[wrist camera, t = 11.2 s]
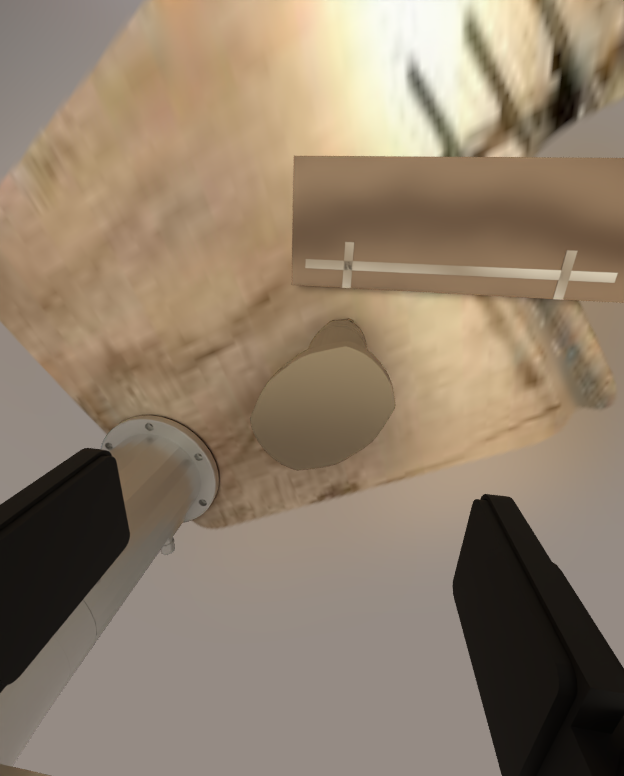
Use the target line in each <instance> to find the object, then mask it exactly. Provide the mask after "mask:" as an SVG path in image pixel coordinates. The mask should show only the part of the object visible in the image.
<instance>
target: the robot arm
mask: <svg viewBox="0 0 624 776" xmlns="http://www.w3.org/2000/svg"><path fill="white" fill-rule="evenodd" d="M218 485H219V476H218V470H217V466H216V463H215V460H214V458H213V456H212V454H211V452H210V451H209V450H208V448H207V447H206V445H205V444H204V443H203V442H202V441H201V440H200V439H199V438H198V437H197V436H196V435H195V434H194V433H193V432H191V431H190V430H189V429H187V428H186V427H185V426H183V425H181V424H179V423H177V422H175V421H172V420H169V419H166V418H163V417H158V416H152V415H146V416H137V417H132V418H129V419H127V420H125V421H123V422H121V423H120V424H118V425H117V426H116V427H114V428H113V429H112V430H111V431H110V432H109V433H108V434H107V435H106V437H105V439H104V441H103V443H102V446H101V450H100V449H91V448H84V449H82V450H80V451H79V452H78V453H76V454H75V455H73V456H72V457H70V458H69V459H67V460H66V461H64V462H63V463H61V464H60V465H58V466H57V467H56V468H54V469H53V470H51V471H50V472H48V473H46V474H45V475H44V476H42V477H41V478H39V479H38V480H36V481H35V482H33V483H32V484H30V485H29V486H27V487H26V488H24V489H23V490H21V491H20V492H19V493H17V494H16V495H14V496H13V497H11V498H10V499H8V500H7V501H5V502H4V503H2V504H1V505H0V776H50V775H46V774H42V773H38V772H33V771H29V770H25V769H20V768H16V767H13V765H14V764H15V762H16V760H17V759H18V757H19V755H20V754H21V752H22V751H23V749H24V748H25V746H26V745H27V743H28V742H29V740H30V739H31V737H32V735H33V734H34V732H35V731H36V729H37V728H38V726H39V725H40V723H41V721H42V720H43V718H44V717H45V716H46V714H47V713H48V711H49V710H50V708H51V707H52V705H53V704H54V702H55V701H56V699H57V698H58V696H59V695H60V693H61V692H62V690H63V689H64V687H65V686H66V685H67V683H68V681H69V680H70V679H71V677H72V676H73V674H74V673H75V671H76V670H77V668H78V667H79V666H80V664H81V663H82V662H83V660H84V659H85V657H86V656H87V654H88V653H89V651H90V650H91V649H92V647H93V646H94V644H95V642H96V641H97V640H98V638H99V637H100V635H101V634H102V632H103V631H104V630H105V628H106V627H107V625H108V624H109V623H110V621H111V620H112V618H113V617H114V615H115V614H116V612H117V611H118V610H119V608H120V607H121V606H122V604H123V602H124V601H125V600H126V598H127V597H128V595H129V594H130V593H131V591H132V590H133V588H134V587H135V586H136V584H137V583H138V581H139V580H140V578H141V577H142V576H143V574H144V573H145V571H146V570H147V569H148V567H149V566H150V564H151V563H152V561H153V560H154V559H155V557H156V556H157V554H158V553H159V551H160V550H161V553H162V554H164V555H168V554H170V553H172V552H173V551H174V549H175V545H174V539H173V536H174V534H175V533H176V531H177V530H178V528H179V527H180V525H181V524H182V523H183V522H188V521H191V520H194V519H196V518H197V517H199V516H201V515H202V514H203V513H204V512H205V511H206V510H207V509H208V508H209V507H210V505H211V503H212V502H213V500H214V499H215V496H216V494H217V491H218ZM453 595H454V600H455V603H456V607H457V611H458V614H459V618H460V622H461V626H462V629H463V633H464V637H465V640H466V644H467V648H468V651H469V655H470V659H471V662H472V666H473V670H474V674H475V678H476V681H477V685H478V689H479V692H480V696H481V700H482V704H483V707H484V711H485V715H486V718H487V722H488V726H489V730H490V733H491V737H492V741H493V745H494V748H495V752H496V756H497V759H498V763H499V767H500V770H501V774H502V776H624V668H623V667H622V665H621V663H620V662H619V661H618V659H617V657H616V656H615V654H614V652H613V651H612V649H611V648H610V646H609V645H608V643H607V642H606V640H605V638H604V637H603V635H602V634H601V632H600V631H599V629H598V627H597V626H596V624H595V623H594V621H593V619H592V618H591V616H590V615H589V613H588V612H587V610H586V609H585V607H584V605H583V604H582V602H581V601H580V599H579V598H578V596H577V595H576V593H575V591H574V590H573V588H572V587H571V585H570V583H569V582H568V581H567V579H566V577H565V576H564V574H563V572H562V571H561V570H560V569H559V568H558V566H557V565H556V564H554V563H553V562H552V561H551V560H550V558H549V556H548V555H547V553H546V552H545V550H544V548H543V547H542V545H541V544H540V542H539V540H538V539H537V537H536V536H535V535H534V532H533V531H532V529H531V528H530V526H529V524H528V523H527V521H526V520H525V518H524V517H523V515H522V513H521V512H520V510H519V508H518V507H517V505H516V504H515V502H514V501H513V499H512V498H510V497H506V496H498V495H489V494H484V495H483V496H482V497H481V500H479V499H476V500H474V501H473V504H472V508H471V512H470V516H469V520H468V524H467V528H466V532H465V536H464V540H463V544H462V547H461V551H460V556H459V559H458V563H457V567H456V571H455V575H454V579H453Z"/></svg>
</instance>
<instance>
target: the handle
mask: <svg viewBox="0 0 624 776" xmlns="http://www.w3.org/2000/svg"><path fill="white" fill-rule="evenodd" d="M394 409H395V398H394V392H393V387H392V383H391V381H390V378H389V376H388V374H387V372H386V370H385V369H384V367H383V366H382V364H381V363H380V362H379V360H378V359H377V358H376V357H375V356H374V355H373V354H372V353H371V352H369V351H368V350H367V346H366V341H365V338H364V335H363V333H362V332H361V330H360V329H359V328H358V327H357V326H356V325H355V324H354V321H353V320H351V319H347V320H336V321H335V320H333V321H331V322H329V323H328V324H327V325H326V326H324V327H323V328H322V329H321V330H320V331H319V332H318V333H317V335H316V336H315V337H314V339H313V340H312V342H311V344H310V346H309V349H308V350H306V351H303V352H302V353H300V354H299V355H297V356H296V357H295V358H293V359H292V360H291V361H289V362H288V363H287V364H286V365H284V366H283V367H282V368H281V369H280V370H278V371H277V372H276V373H275V374H274V375H273V376H272V378H271V379H270V380H269V381H268V383H267V384H266V386H265V388H264V389H263V391H262V392H261V394H260V396H259V399H258V401H257V403H256V405H255V408H254V410H253V413H252V415H251V417H250V421H251V427H252V430H253V433H254V435H255V437H256V438H257V440H258V442H259V443H260V445H261V446H262V447H263V448H264V450H265V451H266V452H267V453H268V454H269V455H270V456H271V457H272V458H274V459H275V460H276V461H278V462H279V463H281V464H282V465H284V466H286V467H289V468H291V469H294V470H297V471H298V470H307V469H315V468H321V467H327V466H331V465H335V464H337V463H340V462H342V461H344V460H346V459H347V458H349V457H350V456H352V455H354V454H355V453H357V452H359V451H360V450H362V449H363V448H365V447H366V446H367V445H369V444H370V443H371V442H372V441H373V440H374V439H375V438H376V437H377V435H378V434H379V433H380V431H381V430H382V428H383V427H384V425H385V424H386V422H387V420H388V419H389V417H390V415H391V414H392V412H393V410H394Z"/></svg>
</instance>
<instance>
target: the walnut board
mask: <svg viewBox="0 0 624 776" xmlns="http://www.w3.org/2000/svg"><path fill="white" fill-rule="evenodd" d="M292 285H305V286H323V287H342V288H360V289H379V290H397V291H416V292H434V293H453V294H471V295H490V296H508V297H527V298H545V299H561V300H563V299H564V300H582V301H602V302H621V303H623V302H624V158H538V157H385V156H294V176H293V236H292Z"/></svg>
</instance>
